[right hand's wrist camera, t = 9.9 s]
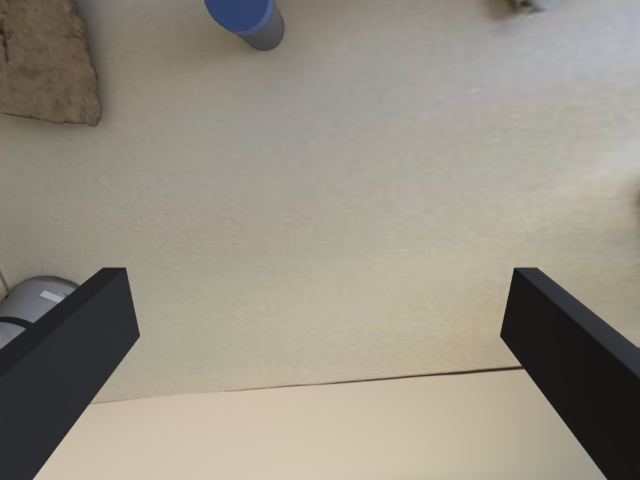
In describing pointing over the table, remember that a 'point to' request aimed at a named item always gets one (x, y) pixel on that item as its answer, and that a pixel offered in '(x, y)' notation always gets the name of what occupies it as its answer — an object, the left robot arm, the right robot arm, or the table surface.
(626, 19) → the table surface
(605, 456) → the right robot arm
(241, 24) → the lid
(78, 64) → the stone
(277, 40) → the jar
